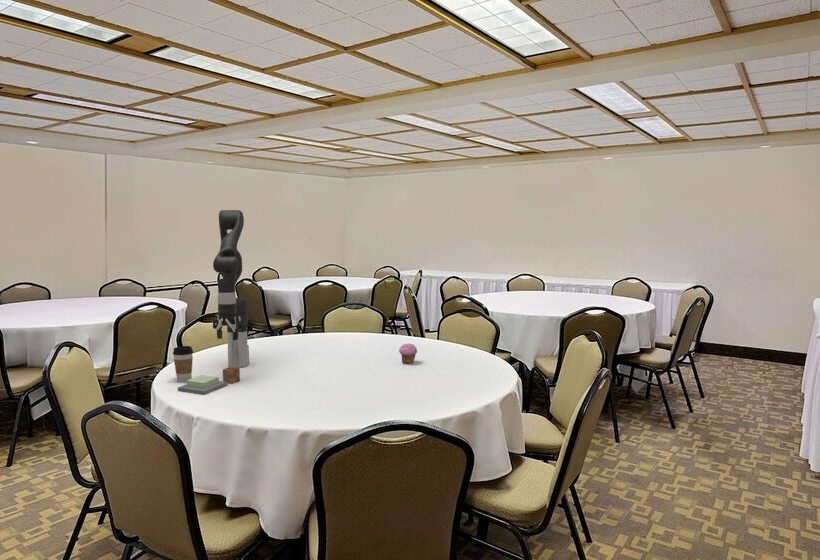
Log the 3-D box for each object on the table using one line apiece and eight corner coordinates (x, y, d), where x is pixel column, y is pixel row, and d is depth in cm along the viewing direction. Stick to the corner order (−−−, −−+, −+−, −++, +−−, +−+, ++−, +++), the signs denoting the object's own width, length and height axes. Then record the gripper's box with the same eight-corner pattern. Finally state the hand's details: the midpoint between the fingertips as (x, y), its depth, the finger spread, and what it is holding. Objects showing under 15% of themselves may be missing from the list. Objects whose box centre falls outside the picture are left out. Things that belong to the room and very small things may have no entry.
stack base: (201, 381, 243) (201, 372, 243) (227, 385, 238) (227, 376, 237) (177, 390, 230) (177, 381, 230) (204, 394, 225) (204, 385, 224)
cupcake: (396, 364, 274) (396, 344, 273) (404, 360, 281) (404, 340, 280) (412, 366, 270) (412, 346, 269) (420, 362, 277) (420, 342, 276)
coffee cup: (172, 383, 240) (171, 349, 239) (175, 378, 248) (173, 345, 247) (193, 382, 242) (191, 348, 241) (195, 376, 251) (194, 344, 249)
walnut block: (230, 379, 246) (230, 366, 246) (239, 381, 245) (239, 367, 244) (223, 382, 242) (222, 369, 241) (232, 384, 240) (232, 370, 239)
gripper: (245, 302, 241) (246, 339, 242) (220, 300, 247) (220, 336, 248) (234, 304, 234) (234, 342, 236) (207, 302, 240) (208, 339, 241)
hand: (227, 339), depth 242 cm, fingers open, 8 cm apart
